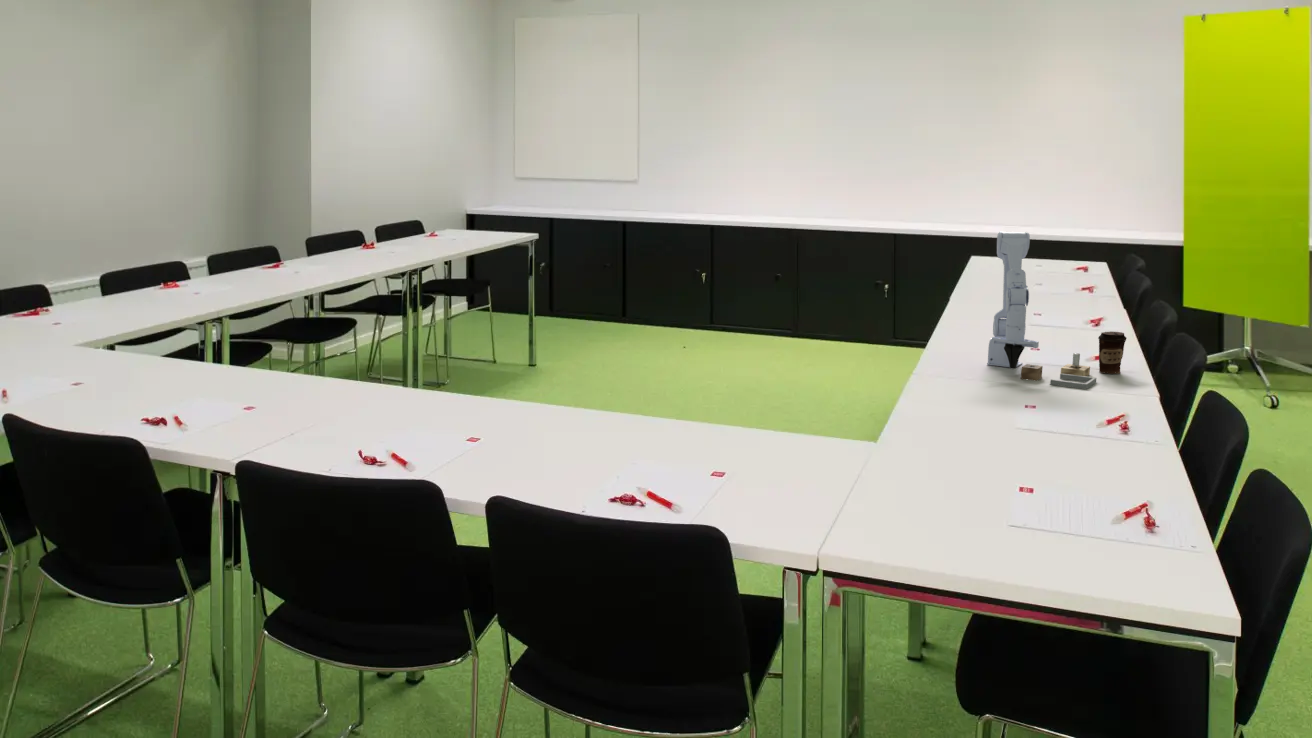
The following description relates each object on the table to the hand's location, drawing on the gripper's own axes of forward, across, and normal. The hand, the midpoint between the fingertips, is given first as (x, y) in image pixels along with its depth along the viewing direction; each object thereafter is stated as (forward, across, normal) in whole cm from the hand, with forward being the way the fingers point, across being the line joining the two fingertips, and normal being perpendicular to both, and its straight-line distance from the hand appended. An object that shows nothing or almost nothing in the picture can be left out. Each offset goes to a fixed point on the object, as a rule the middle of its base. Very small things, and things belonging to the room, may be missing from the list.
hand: (1013, 367), depth 347 cm
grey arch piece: (+3, +18, 0) cm, 18 cm away
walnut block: (+3, +6, 0) cm, 7 cm away
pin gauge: (+3, +16, +12) cm, 20 cm away
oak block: (+3, +16, +12) cm, 20 cm away
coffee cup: (+3, +24, +22) cm, 33 cm away
